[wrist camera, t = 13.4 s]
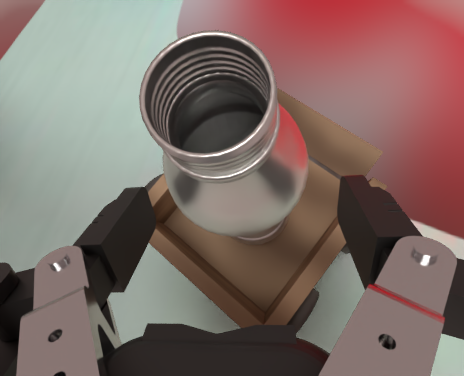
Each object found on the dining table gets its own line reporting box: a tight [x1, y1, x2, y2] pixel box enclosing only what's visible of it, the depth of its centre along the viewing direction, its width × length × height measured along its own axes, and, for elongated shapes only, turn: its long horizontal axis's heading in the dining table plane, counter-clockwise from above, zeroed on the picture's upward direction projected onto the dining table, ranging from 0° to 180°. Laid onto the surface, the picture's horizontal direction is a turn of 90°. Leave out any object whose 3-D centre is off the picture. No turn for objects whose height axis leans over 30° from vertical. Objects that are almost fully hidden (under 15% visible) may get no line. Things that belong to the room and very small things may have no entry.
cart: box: [145, 89, 387, 334], centre depth 25 cm, size 20×17×6 cm
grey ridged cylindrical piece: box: [139, 30, 308, 245], centre depth 16 cm, size 6×7×20 cm
